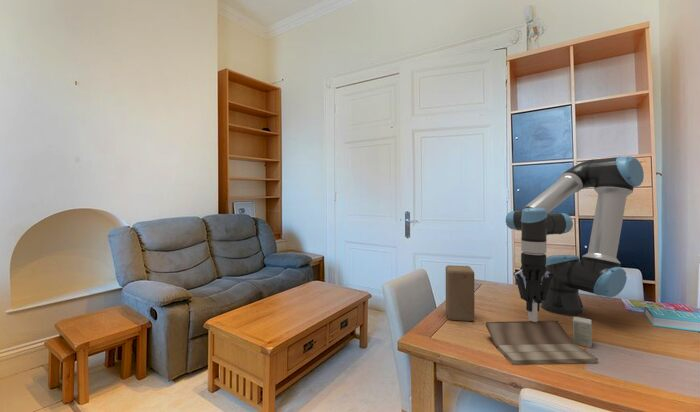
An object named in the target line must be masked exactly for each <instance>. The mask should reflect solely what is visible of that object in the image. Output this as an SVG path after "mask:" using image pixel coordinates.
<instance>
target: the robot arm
mask: <svg viewBox="0 0 700 412" xmlns="http://www.w3.org/2000/svg"><path fill="white" fill-rule="evenodd" d="M644 174H645V173H644V169H643V166H642V164H641V162H640V160H638V159H637V157H634V156H630V155H628V156H621V155H619V156H615V157H614V156H613V157H606V158H604V157H603V158H598V159H597V158H595V159H588V160H584V161H582V162H580V163H578V164H576V165H575V164H574V166H572V167H570V168H568V169H567V170H566V171H564V172H563V173H562V174H560V175H559V176H558V180H556V182H554V183H553V184H552V185H551V186H549V187H548V188H547V189H546V190H544V191H542V192H541V193H540V194H539V195H538V196H536V197H535V198H534V199H533V200H532V201H530V202H529V203H527V204H526V205H525V206H524V207H523V208H521V209H520V210H513V211H512V210H511V211H509V212H508V213H507V214H506V216H505V223H506V224H505V225H506V226H507V228H508V229H511V230H515V231H518V232H520V231H521V237H520V240H521V241H520V242H521V244H520V245H521V246H520V251H521V253H520V263H521V266H520V268H519V270H518V271H517V272H516V271H514V272H513V276H514V277H515V280H516V283H517V284H516V285H517V288H518V292H519V295H520V296H519V297H520V299H521V300H523V301H525V303H526V307H525V308H526V311H528V314H527V315H528V318H527V319H528V321H532V322H537V321H538V312H540V307H541V308H542V309H544V310H546V311H548V312H551V313H555V314H559V315H563V316H564V315H565V316H579V315H580V316H581V315H583V314H584V311H585V309H584V304H583V302H582V299H581V297H580V294H579V291H582V292H587V293H590V294H594V295H597V296H600V297H601V296H602V297H607V298H613V297H616V296H618V295H619V294H620V293H621V292H622V291H623V290H624V288H625V286H626V283H627V279H628V278H627V273H626V270H625V269H623V268H622V267H621V262H620V261H619V259H618V258H617V256H618V249H619V245H620V237H621V232H622V226H623V221H624V214H625V209H626V208H625V207H626V202H627V197H628V196H630V195H631V194H633V193H634V188H636V187H639V186H641V185H642V183H643V181H644V178H645V177H644V176H645V175H644ZM588 188H589V189H591V188H594V189H593V190H594V192H595V193H596V194H597V199H596V204H595V211H594V215H593V216H594V217H593V221H592V227H591V232H590V233H591V234H590V239H589V244H588V251H587V253H585V254H583V255H582V257H581V260H580V257H579V256H578V255H575V254H556V255H555V254H554V255H553V254H552V255H548V256H547V254H546V253H547V236H549V235H562V234H566V233H570V232H571V230H572V229H573V225H574V221H573V219H572V217H571V216H570V215H569V214H567V213H564V212H552V211H553V210H554V209H556V207H558V206H559V205H560V204H562V203H563V201H565V200H566V199H568V198H569V197H570V196H571V195H572V194H575V193H579V192H581V190H584V189H588ZM524 281H525V282H524Z"/></svg>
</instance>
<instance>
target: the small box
mask: <svg viewBox="0 0 700 412" xmlns="http://www.w3.org/2000/svg"><path fill="white" fill-rule="evenodd" d="M592 326H593V322H592V319H589V318H585V317H579V316H573V317H572V341H573V343H574V344H576V345H578V346H579V345H580V346H584V347H589V348H592V347H593V346H592V345H593V343H592V342H593V336H592V335H593V329H592V328H593V327H592Z"/></svg>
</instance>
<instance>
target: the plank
mask: <svg viewBox="0 0 700 412" xmlns="http://www.w3.org/2000/svg"><path fill="white" fill-rule="evenodd" d="M485 326H486V329H487V331H488V333H489V336H490V337H491V340H492V342H493V344H494V345H495V348H496V349H498V345H538V344H574V343H573V339H571V337H570V335H569V334H568V333H567V332H566V329H564V328H563V327H562V325H561V323H560V322H559V320H537V322H532V321H531V320H525V321H524V320H522V321H521V320H520V321H518V320H517V321H513V320H512V321H486V322H485Z"/></svg>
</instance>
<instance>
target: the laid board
mask: <svg viewBox="0 0 700 412" xmlns="http://www.w3.org/2000/svg"><path fill="white" fill-rule="evenodd" d="M497 350H498V352H500V353H501V354H502V355H503V357H505V358H506V360H508V361H509V362H510V363H511V365H553V364H555V365H556V364H557V365H559V364H563V365H564V364H566V365H567V364H598V363H599V358H597V357H596V356H594V355H593V354H591V353H590V352H589V351H587V350H585V349H584V348H583V347H581V346H579V344H538V345H498V348H497Z"/></svg>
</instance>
